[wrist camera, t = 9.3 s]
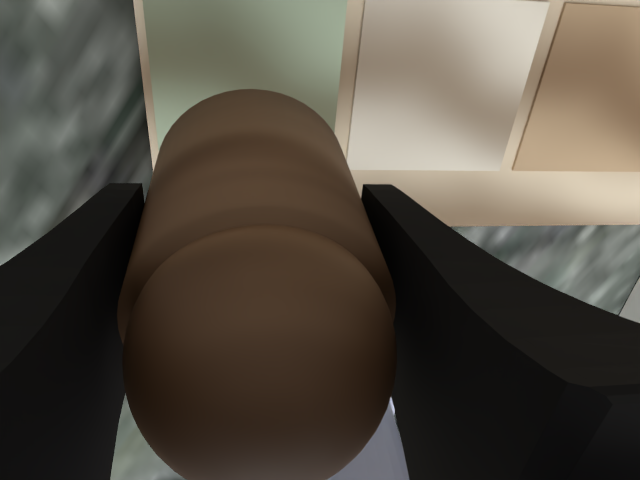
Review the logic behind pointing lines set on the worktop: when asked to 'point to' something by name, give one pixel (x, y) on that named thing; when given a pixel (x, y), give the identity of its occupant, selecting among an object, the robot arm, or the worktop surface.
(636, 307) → the dome base
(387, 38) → the game board
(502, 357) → the robot arm
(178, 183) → the walnut pawn
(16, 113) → the worktop surface
